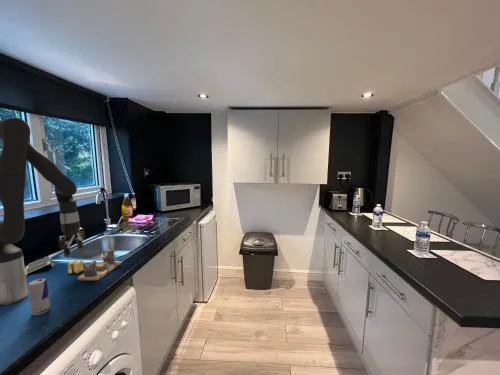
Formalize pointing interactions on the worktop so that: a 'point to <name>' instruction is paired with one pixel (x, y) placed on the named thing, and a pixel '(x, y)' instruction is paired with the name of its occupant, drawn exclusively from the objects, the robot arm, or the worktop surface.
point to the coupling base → (100, 273)
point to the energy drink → (38, 296)
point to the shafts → (102, 256)
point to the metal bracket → (38, 264)
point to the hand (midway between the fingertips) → (74, 251)
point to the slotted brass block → (75, 266)
